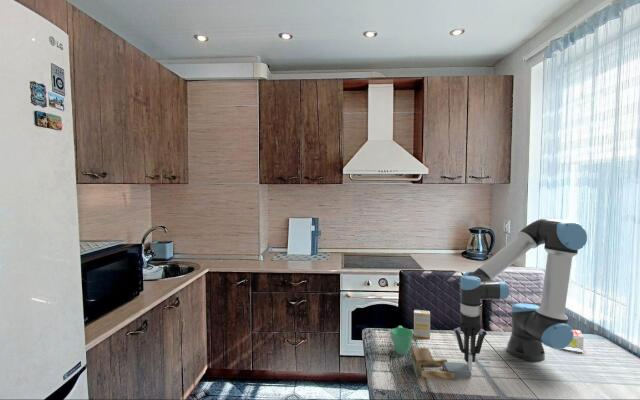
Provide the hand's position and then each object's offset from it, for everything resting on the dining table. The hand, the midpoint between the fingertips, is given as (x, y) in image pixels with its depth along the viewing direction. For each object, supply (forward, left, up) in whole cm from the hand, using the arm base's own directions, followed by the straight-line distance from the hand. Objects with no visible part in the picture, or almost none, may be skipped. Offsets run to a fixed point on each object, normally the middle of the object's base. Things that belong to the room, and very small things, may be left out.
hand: (469, 368), depth 139 cm
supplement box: (+13, -35, -2) cm, 37 cm away
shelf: (+15, 0, -2) cm, 15 cm away
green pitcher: (+26, -18, -2) cm, 31 cm away
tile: (+5, +1, -2) cm, 6 cm away
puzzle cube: (-57, -29, -2) cm, 64 cm away
